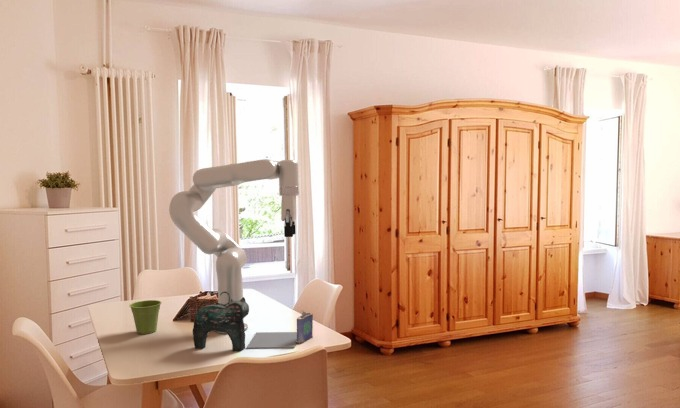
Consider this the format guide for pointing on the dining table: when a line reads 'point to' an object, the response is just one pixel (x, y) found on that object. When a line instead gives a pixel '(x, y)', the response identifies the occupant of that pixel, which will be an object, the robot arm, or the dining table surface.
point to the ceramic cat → (221, 322)
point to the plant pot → (146, 315)
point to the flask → (304, 327)
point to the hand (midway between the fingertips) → (290, 235)
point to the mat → (273, 340)
